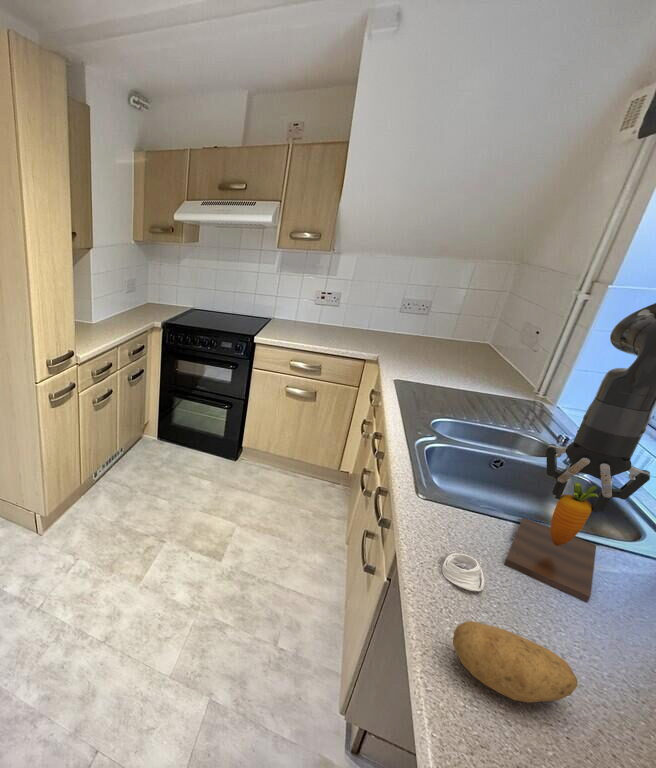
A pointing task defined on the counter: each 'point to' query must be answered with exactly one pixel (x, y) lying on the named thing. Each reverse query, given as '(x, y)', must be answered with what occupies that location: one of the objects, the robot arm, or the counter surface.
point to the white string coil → (463, 572)
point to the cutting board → (553, 559)
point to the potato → (513, 663)
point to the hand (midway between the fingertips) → (575, 503)
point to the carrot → (571, 514)
